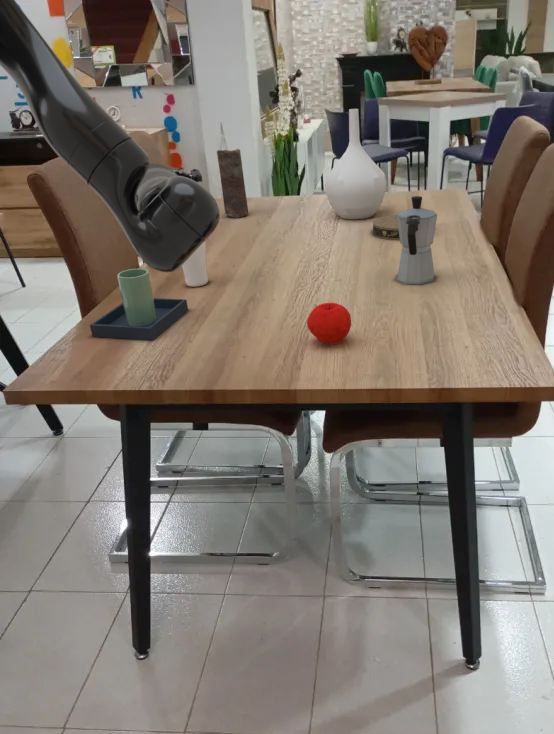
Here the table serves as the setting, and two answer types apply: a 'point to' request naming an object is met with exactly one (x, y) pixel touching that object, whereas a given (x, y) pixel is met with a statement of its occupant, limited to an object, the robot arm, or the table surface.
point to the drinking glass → (196, 268)
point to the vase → (355, 179)
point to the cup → (137, 297)
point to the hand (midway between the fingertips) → (148, 178)
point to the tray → (119, 328)
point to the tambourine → (386, 227)
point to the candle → (232, 183)
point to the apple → (329, 323)
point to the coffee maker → (416, 243)
